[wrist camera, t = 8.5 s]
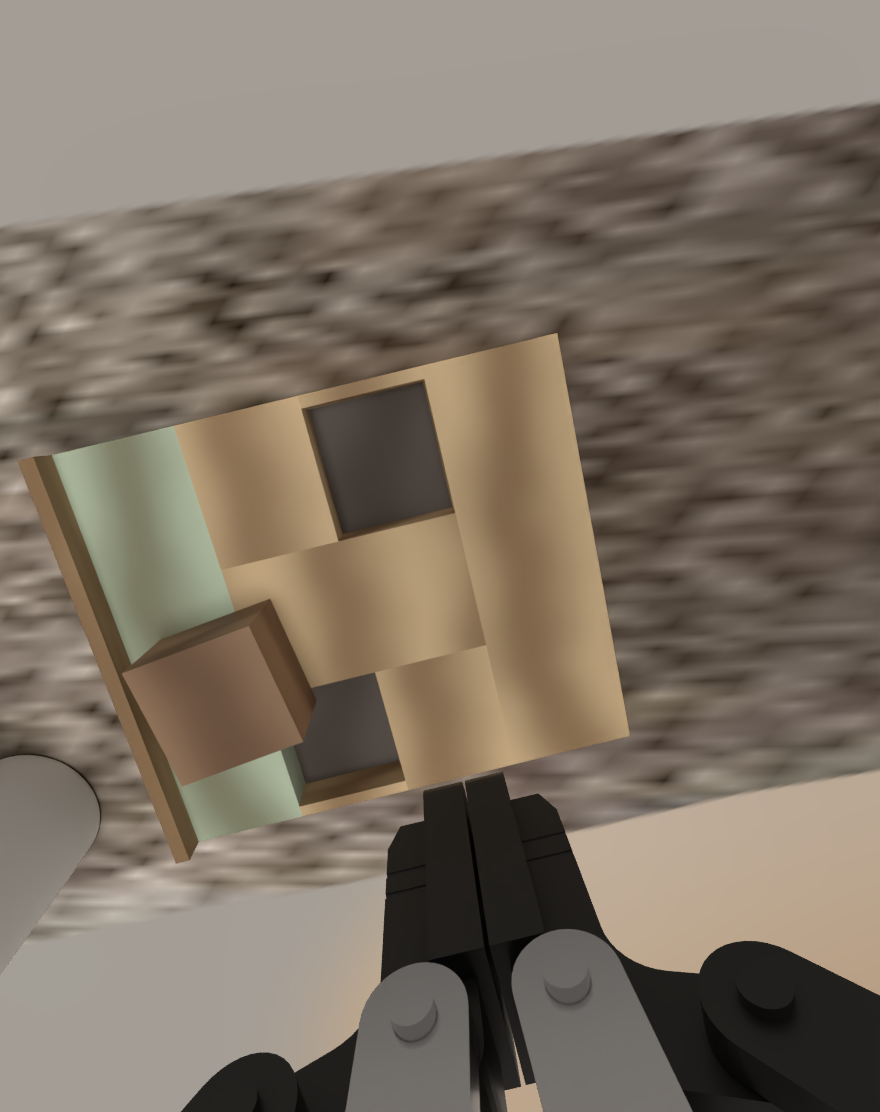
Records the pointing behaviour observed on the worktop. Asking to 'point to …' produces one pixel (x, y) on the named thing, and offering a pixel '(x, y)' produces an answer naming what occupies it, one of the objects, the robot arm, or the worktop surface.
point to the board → (356, 578)
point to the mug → (39, 840)
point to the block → (223, 692)
